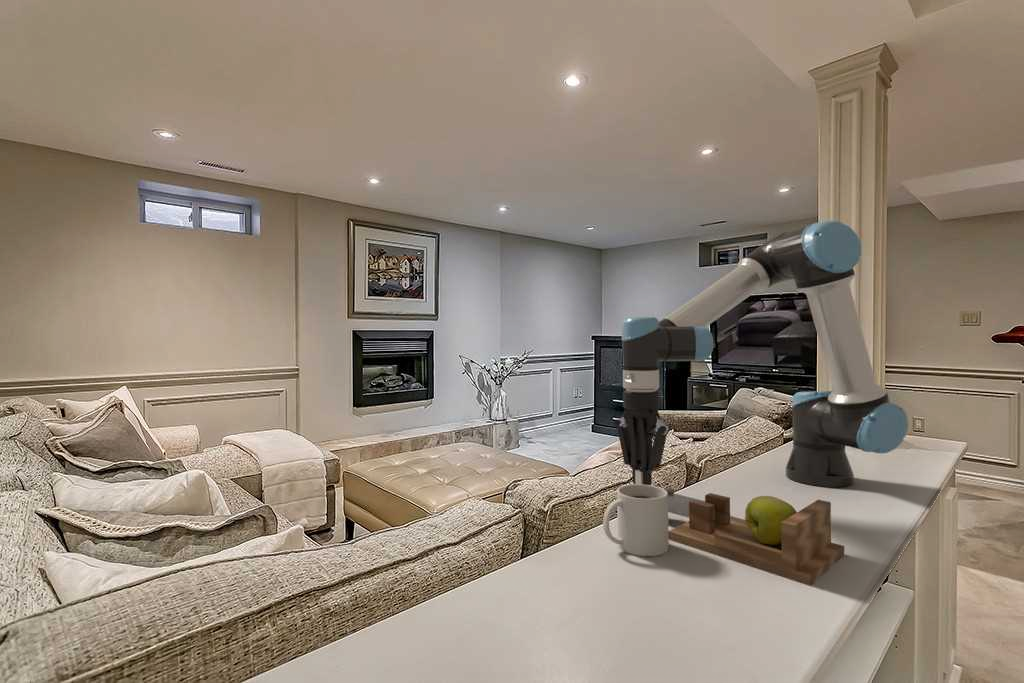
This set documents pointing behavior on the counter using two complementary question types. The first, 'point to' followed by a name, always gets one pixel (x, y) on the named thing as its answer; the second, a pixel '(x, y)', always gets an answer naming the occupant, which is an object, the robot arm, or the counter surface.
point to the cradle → (731, 538)
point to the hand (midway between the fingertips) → (642, 500)
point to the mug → (640, 520)
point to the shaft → (679, 503)
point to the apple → (767, 518)
